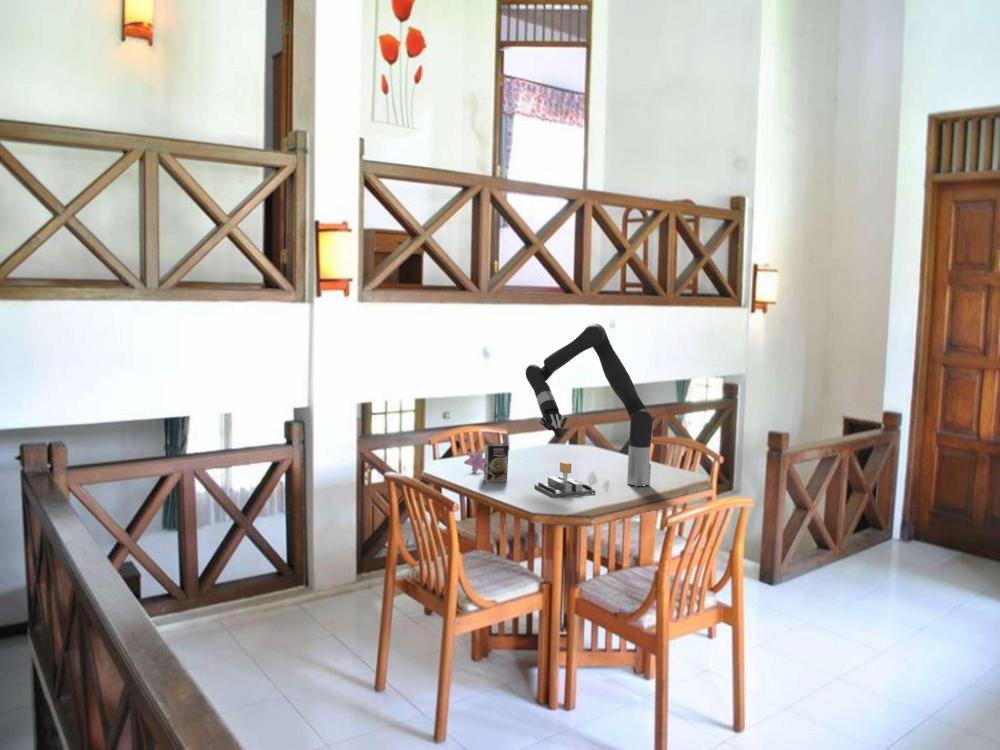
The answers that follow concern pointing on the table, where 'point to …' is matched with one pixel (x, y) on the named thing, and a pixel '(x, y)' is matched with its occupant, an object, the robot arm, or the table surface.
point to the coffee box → (496, 462)
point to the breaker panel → (559, 494)
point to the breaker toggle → (565, 469)
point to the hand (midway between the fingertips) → (559, 437)
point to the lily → (476, 460)
